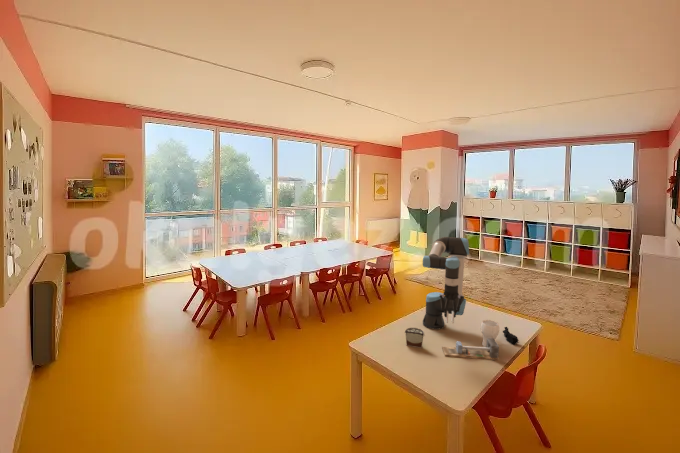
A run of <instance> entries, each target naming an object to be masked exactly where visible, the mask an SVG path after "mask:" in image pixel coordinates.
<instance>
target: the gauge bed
mask: <svg viewBox="0 0 680 453" xmlns="http://www.w3.org/2000/svg"><path fill="white" fill-rule="evenodd" d="M486 347H490V351H484V350H468V349H467V350H468V351H469V352H470V355H467V354H466V349H462V353H457V350H456V347H452V346H451V347H450V346H441V349H442V353H443V355H444V357H454V358H465V359H466V358H467V359H481V360H485V359H486V360H499V350H500V346H499V344H498V343H497V342H496V339H495V340H494V339H487V343H486ZM467 353H468V352H467Z"/></svg>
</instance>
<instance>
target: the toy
mask: <svg viewBox="0 0 680 453" xmlns="http://www.w3.org/2000/svg"><path fill="white" fill-rule="evenodd" d="M503 328H504V329H503V330H502V333H503V336H504V338H506V341H507V342H508V343H509V344H511V345H514V346H515V345H517V344H518V343H519V338H518V336H517V335H515V334H513V333H510V331H509V327H508V326H504V327H503Z"/></svg>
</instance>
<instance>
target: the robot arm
mask: <svg viewBox="0 0 680 453" xmlns="http://www.w3.org/2000/svg"><path fill="white" fill-rule="evenodd" d="M469 247H470V246H469V240H468V238H464V237H454V236H453V237H452V236H451V237H450V236H443V237H440V238H438V239H436V240H434V241H433V242H432V245H431V250H430V252H429V254H428V255H423V257H422V267H424V268H427V269H438V270H445V275H444V283H445V284H444V290H443V292H438V291H434V292H429V293H428V294H426V297H425V298H426V299H425V313H424V316H423V319H422V325H423V326H424V327H425V328H428V329H431V330H441V329H442V330H443V328H445V324H448V323H449V314H450V315H451V319H450V320H451V323H452V324H454V323H455V321H454V320H455V318H457V316H463V315H464V313H465V308H466V304H467V299H466V298H465V295H464V294H463V289H464V288H463V286H464V285H463V284H464V272H465V271H464V269H465V259H466V258H468V256H469V255H470V250H469V249H470V248H469ZM443 253H445V254H449V257H448V256H447V257H445V256H442V255H443ZM443 314H444V316H443ZM444 318H445V320H444Z"/></svg>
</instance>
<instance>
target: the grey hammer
mask: <svg viewBox="0 0 680 453" xmlns="http://www.w3.org/2000/svg"><path fill="white" fill-rule="evenodd" d="M455 348H456V350H457V353H462V349H466V354H467V355H468V353H467V352H468V350H484V351H490V347H484V346H471V345H463V344H462V342H461V341H458V340H457V341H456V342H455ZM467 349H468V350H467Z"/></svg>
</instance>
